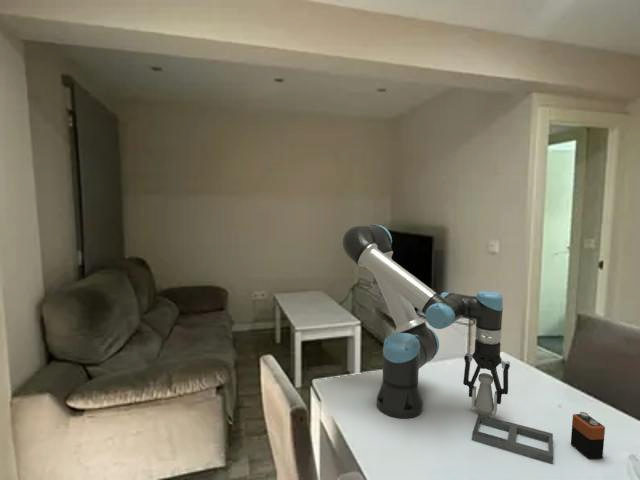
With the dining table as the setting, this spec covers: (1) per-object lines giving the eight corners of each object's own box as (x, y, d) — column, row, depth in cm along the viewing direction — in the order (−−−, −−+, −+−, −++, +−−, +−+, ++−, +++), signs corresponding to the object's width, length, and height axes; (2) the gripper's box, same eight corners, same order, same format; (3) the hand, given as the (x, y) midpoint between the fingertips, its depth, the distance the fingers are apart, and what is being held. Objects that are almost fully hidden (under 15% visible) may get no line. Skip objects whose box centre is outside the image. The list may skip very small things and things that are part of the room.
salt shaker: (495, 419, 122) (497, 379, 120) (476, 417, 123) (478, 378, 121) (491, 409, 127) (493, 371, 126) (472, 407, 128) (474, 370, 127)
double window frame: (471, 439, 111) (472, 433, 111) (478, 419, 121) (478, 413, 121) (552, 464, 101) (553, 457, 101) (552, 440, 111) (552, 433, 111)
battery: (583, 443, 110) (586, 410, 109) (603, 459, 103) (606, 423, 102) (569, 444, 109) (572, 410, 108) (588, 459, 103) (591, 424, 102)
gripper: (454, 338, 124) (451, 406, 126) (520, 350, 115) (515, 423, 117) (459, 331, 131) (456, 396, 133) (521, 342, 121) (517, 412, 123)
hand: (484, 409), depth 125 cm, fingers closed on salt shaker, 6 cm apart
